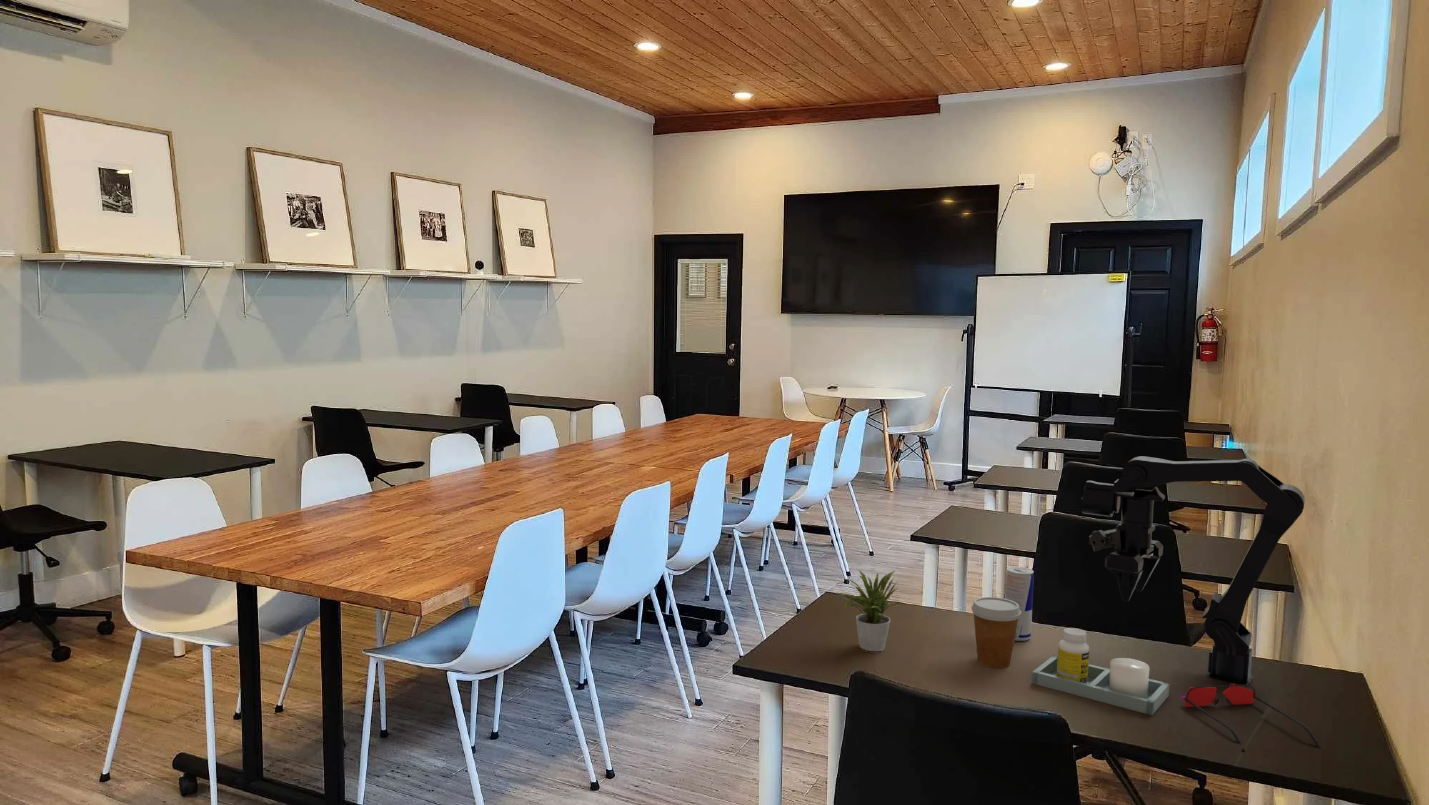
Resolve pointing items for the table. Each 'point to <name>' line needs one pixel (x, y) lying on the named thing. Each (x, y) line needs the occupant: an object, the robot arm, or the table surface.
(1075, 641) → the supplement bottle
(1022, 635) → the beverage can
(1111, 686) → the white pillar candle
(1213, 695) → the glasses
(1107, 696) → the tray
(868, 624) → the house plant
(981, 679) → the table surface
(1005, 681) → the table surface
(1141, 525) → the robot arm
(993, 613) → the disposable coffee cup
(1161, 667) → the table surface
